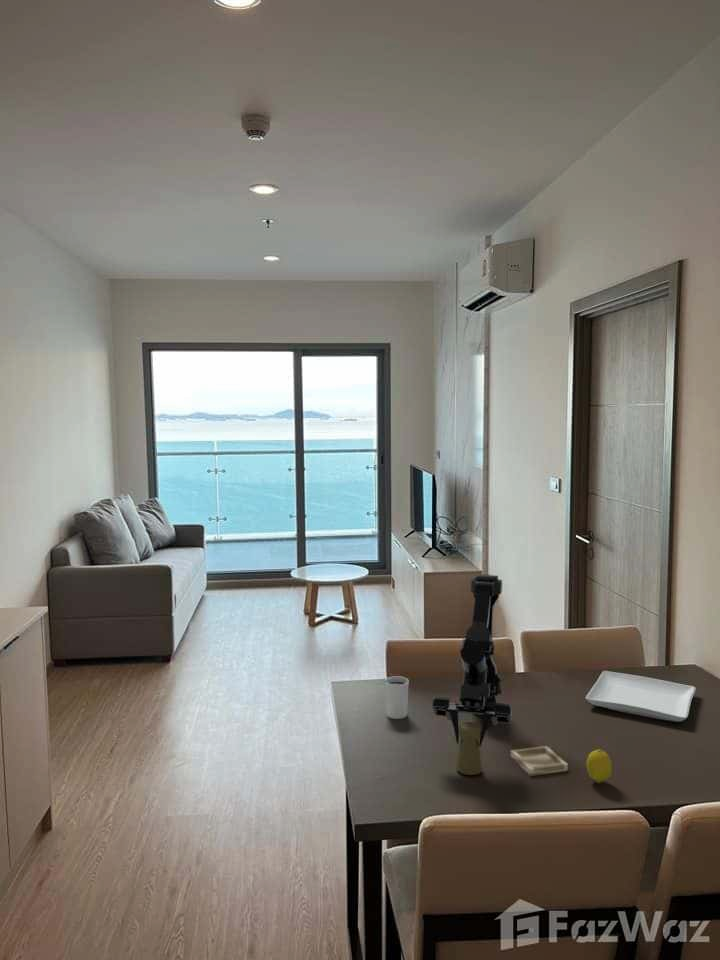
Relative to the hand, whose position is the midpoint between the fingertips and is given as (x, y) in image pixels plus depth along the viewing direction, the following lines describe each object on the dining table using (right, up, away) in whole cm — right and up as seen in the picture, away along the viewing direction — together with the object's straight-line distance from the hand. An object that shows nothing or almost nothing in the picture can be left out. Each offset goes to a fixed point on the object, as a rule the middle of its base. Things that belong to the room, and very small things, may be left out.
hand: (468, 744), depth 171 cm
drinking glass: (-15, -4, +34) cm, 38 cm away
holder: (+18, -7, +6) cm, 20 cm away
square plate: (+58, -4, +44) cm, 73 cm away
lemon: (+30, -8, -3) cm, 31 cm away
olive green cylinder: (0, -7, +2) cm, 7 cm away
